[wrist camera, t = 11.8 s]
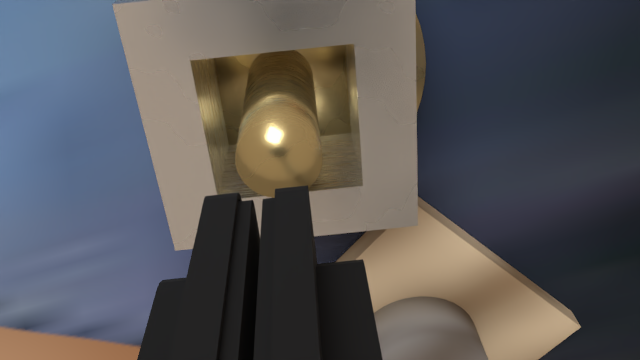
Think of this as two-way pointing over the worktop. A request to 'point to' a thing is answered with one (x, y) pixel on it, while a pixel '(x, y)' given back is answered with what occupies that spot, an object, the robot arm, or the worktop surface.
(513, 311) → the stand
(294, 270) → the robot arm
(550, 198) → the worktop surface
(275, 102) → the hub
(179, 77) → the square hollow frame
